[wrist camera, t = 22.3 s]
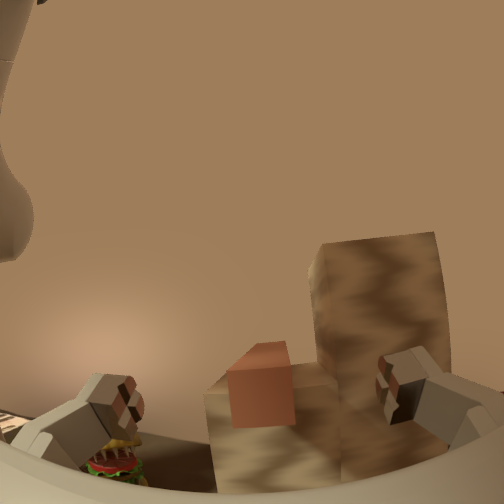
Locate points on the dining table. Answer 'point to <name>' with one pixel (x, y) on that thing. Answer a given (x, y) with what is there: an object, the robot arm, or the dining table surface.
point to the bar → (262, 387)
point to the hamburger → (118, 462)
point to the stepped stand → (344, 374)
